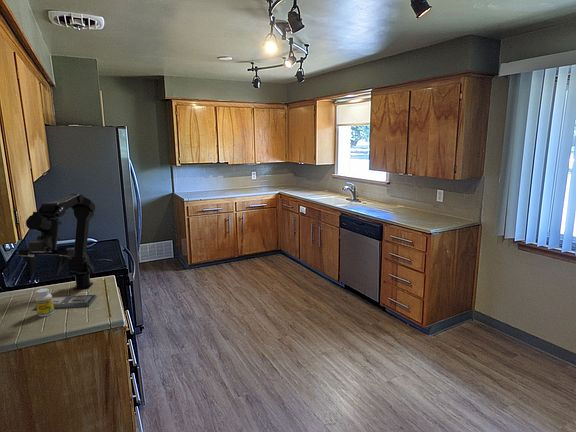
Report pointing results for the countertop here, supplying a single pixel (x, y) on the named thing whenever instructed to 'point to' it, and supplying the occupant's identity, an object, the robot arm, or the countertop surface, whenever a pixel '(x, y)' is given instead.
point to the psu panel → (73, 301)
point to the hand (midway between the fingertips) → (44, 275)
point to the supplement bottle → (44, 302)
